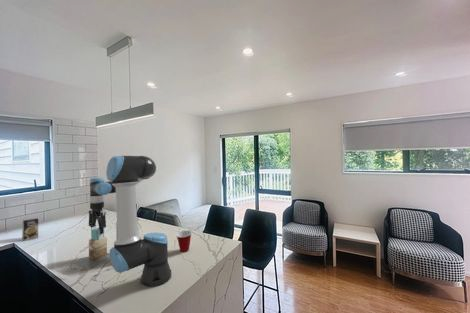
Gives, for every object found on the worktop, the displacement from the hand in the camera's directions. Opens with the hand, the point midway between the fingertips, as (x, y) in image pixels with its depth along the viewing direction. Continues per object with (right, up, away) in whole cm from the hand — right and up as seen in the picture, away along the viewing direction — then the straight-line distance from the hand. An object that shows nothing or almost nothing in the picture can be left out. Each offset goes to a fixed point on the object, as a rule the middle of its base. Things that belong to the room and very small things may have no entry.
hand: (97, 237), depth 136 cm
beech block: (+1, -6, 0) cm, 6 cm away
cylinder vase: (+21, -13, -2) cm, 25 cm away
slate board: (+2, -14, -3) cm, 14 cm away
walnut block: (+1, -12, -1) cm, 12 cm away
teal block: (+1, 0, 0) cm, 1 cm away
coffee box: (-84, -17, +43) cm, 96 cm away
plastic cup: (+53, -13, +10) cm, 56 cm away
